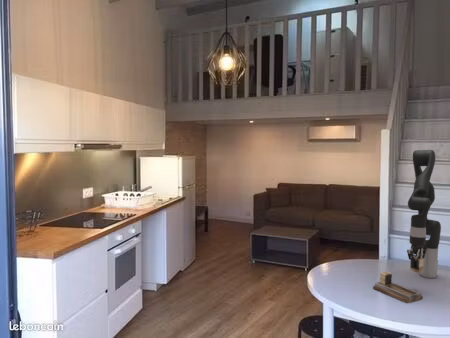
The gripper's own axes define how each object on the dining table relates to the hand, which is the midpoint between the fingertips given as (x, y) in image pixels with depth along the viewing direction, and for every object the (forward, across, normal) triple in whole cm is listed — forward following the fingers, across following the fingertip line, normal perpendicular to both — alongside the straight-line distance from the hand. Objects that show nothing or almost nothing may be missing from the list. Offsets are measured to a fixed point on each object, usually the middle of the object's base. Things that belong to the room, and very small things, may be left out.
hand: (416, 266), depth 199 cm
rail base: (+12, +14, -1) cm, 18 cm away
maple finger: (+2, 0, 0) cm, 2 cm away
